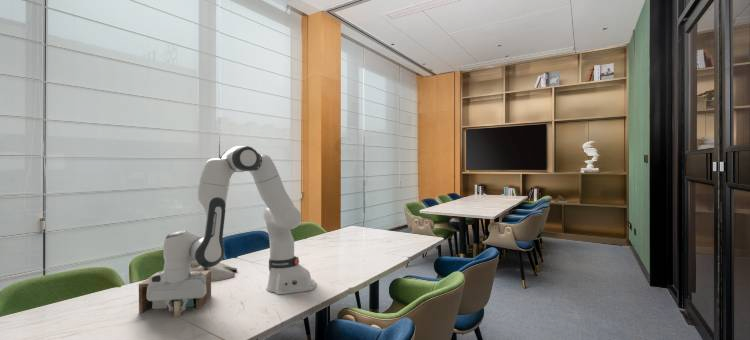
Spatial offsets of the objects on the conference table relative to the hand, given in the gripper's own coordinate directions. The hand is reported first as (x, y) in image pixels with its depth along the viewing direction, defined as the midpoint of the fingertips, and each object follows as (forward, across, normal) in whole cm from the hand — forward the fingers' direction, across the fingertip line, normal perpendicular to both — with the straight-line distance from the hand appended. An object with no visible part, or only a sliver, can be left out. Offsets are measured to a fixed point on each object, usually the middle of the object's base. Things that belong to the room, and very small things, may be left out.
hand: (177, 310), depth 126 cm
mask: (+2, +6, -48) cm, 48 cm away
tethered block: (+2, 0, -6) cm, 6 cm away
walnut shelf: (+2, +5, -12) cm, 13 cm away
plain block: (+2, +10, -11) cm, 15 cm away
